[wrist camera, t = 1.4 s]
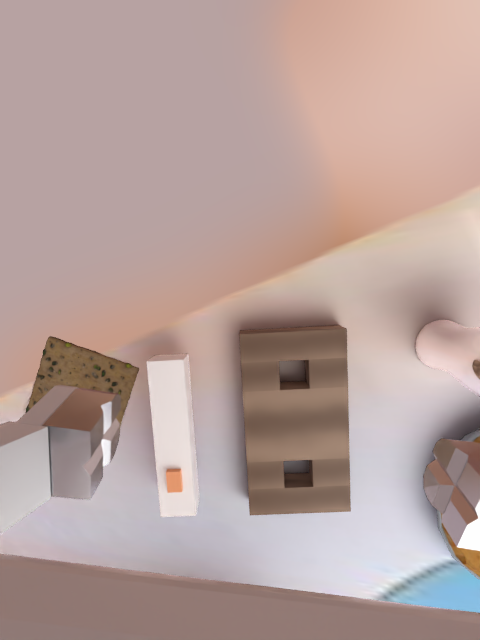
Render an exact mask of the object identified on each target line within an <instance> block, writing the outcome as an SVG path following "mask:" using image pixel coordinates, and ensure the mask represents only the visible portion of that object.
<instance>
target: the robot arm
mask: <svg viewBox="0 0 480 640" xmlns="http://www.w3.org/2000/svg"><path fill="white" fill-rule="evenodd" d="M120 410H121V397H120V395H119V394H117V393H110V392H104V391H98V390H91V389H85V388H78V387H72V386H64V385H57V386H54V387H53V388H52V389H51V390H50V391H49V392H48V393H47V394H46V395H45V396H44V397H42V398H41V399H40V400H39V401H38V402H37V403H36V404H35V405H34V406H33V407H32V408H31V409H30V410H29V411H28V412H27V413H26V414H24V415H23V416H22V417H21V418H20V419H19V420H18V421H17V422H7V423H4V424H1V425H0V535H1V534H2V533H4V532H5V531H6V530H8V529H9V528H11V527H12V526H13V525H15V524H16V523H18V522H19V521H20V520H22V519H23V518H25V517H26V516H27V515H29V514H30V513H32V512H33V511H34V510H36V509H37V508H38V507H40V506H41V505H43V504H44V503H45V502H47V501H48V500H50V499H51V496H53V497H64V498H74V499H84V500H91V498H92V496H93V494H94V492H95V491H96V489H97V487H98V485H99V483H100V481H101V479H102V477H103V467H104V466H106V465H108V464H109V463H110V462H111V460H112V458H113V456H114V454H115V451H116V448H117V445H118V441H119V435H120V423H119V422H118V420H117V419H116V416H117V415H118V413H119V411H120ZM433 454H434V456H435V460H434V461H432V462H431V463H430V464H428V465H427V467H426V470H425V473H424V476H423V483H424V490H425V494H426V497H427V498H428V500H429V502H430V503H431V505H432V506H433V507H434V508H436V509H437V510H438V511H439V512H441V513H442V519H441V522H442V523H443V525H444V527H445V528H446V530H447V532H448V533H449V535H450V537H451V538H452V540H453V541H454V543H455V545H456V546H457V547H459V548H465V549H472V550H478V551H480V443H477V442H468V441H460V440H451V439H442V438H441V439H440V440H439V441H438V442H437V443H436V444H435V447H434V449H433ZM0 640H480V613H476V612H468V611H460V610H452V609H444V608H436V607H427V606H419V605H411V604H403V603H395V602H387V601H379V600H371V599H363V598H355V597H347V596H339V595H331V594H323V593H315V592H307V591H298V590H290V589H282V588H274V587H266V586H258V585H250V584H242V583H233V582H225V581H217V580H209V579H201V578H192V577H184V576H176V575H168V574H160V573H152V572H143V571H135V570H127V569H119V568H111V567H103V566H95V565H87V564H79V563H71V562H63V561H55V560H47V559H39V558H31V557H23V556H15V555H7V554H0Z"/></svg>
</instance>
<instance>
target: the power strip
mask: <svg viewBox="0 0 480 640" xmlns="http://www.w3.org/2000/svg"><path fill="white" fill-rule="evenodd" d="M147 372H148V383H149V394H150V405H151V416H152V427H153V438H154V449H155V460H156V471H157V482H158V493H159V504H160V515H161V517H177V516H196V513H197V508H198V504H199V499H200V498H199V485H198V472H197V459H196V446H195V432H194V419H193V406H192V393H191V380H190V367H189V354H172V355H154V356H153V357H152V358H150V359H149V360H148V361H147Z"/></svg>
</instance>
